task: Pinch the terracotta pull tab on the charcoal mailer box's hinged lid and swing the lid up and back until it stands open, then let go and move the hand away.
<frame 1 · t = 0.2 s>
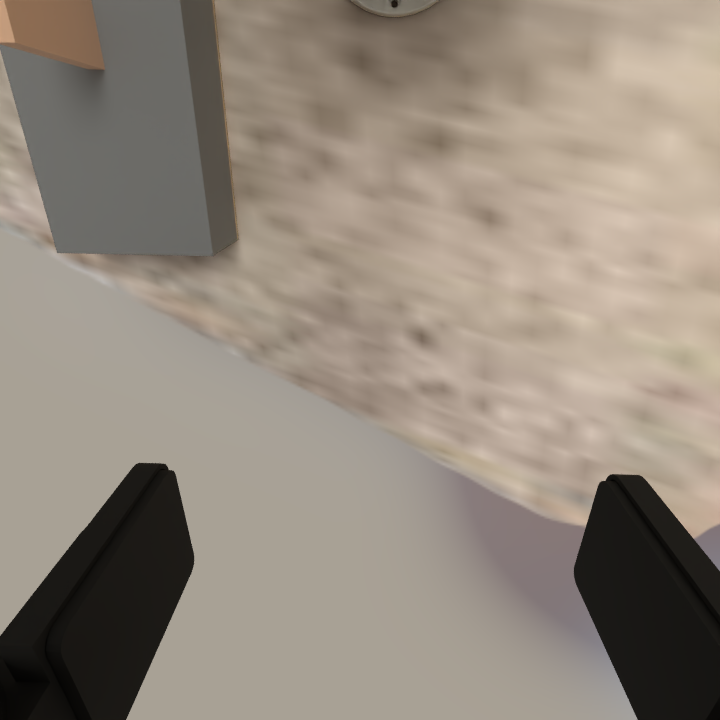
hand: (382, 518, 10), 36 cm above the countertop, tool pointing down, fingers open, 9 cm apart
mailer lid: (77, 107, 29), point 11 cm above the countertop, hinge at 0.0°
mailer box: (154, 123, 39), on the countertop
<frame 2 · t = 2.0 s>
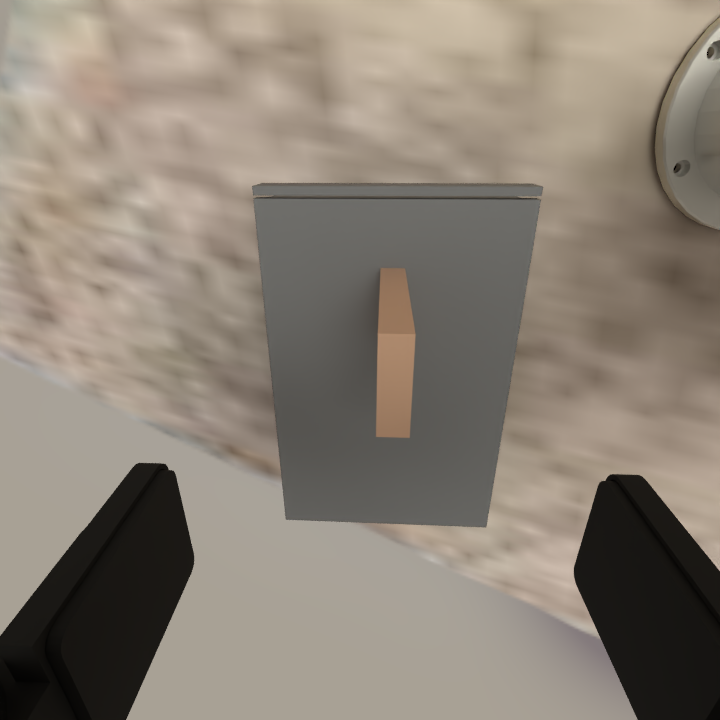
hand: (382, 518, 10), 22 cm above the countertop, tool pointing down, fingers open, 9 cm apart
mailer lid: (389, 418, 22), point 11 cm above the countertop, hinge at 0.0°
mailer box: (388, 338, 32), on the countertop
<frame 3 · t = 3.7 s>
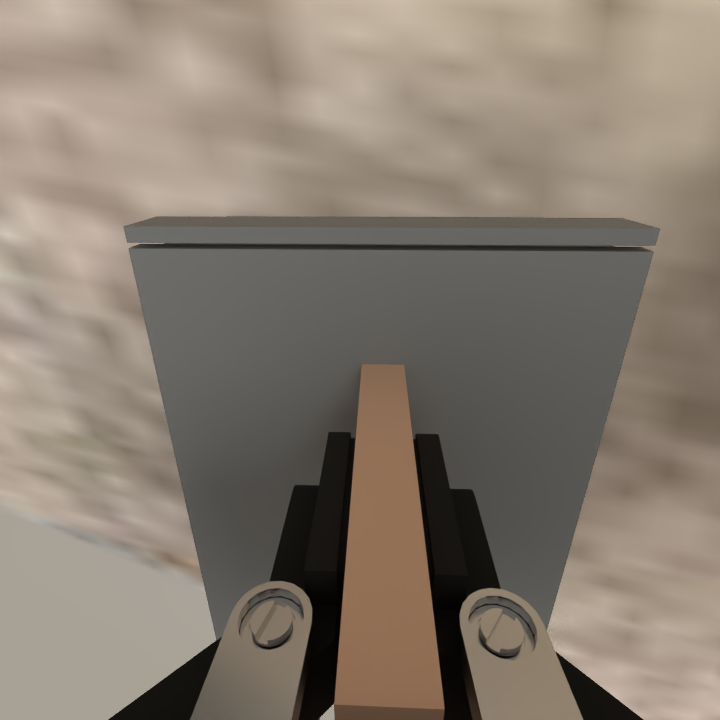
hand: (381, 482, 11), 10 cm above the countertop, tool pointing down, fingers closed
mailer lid: (378, 629, 12), point 11 cm above the countertop, hinge at 0.0°, touching gripper
mailer box: (378, 422, 22), on the countertop
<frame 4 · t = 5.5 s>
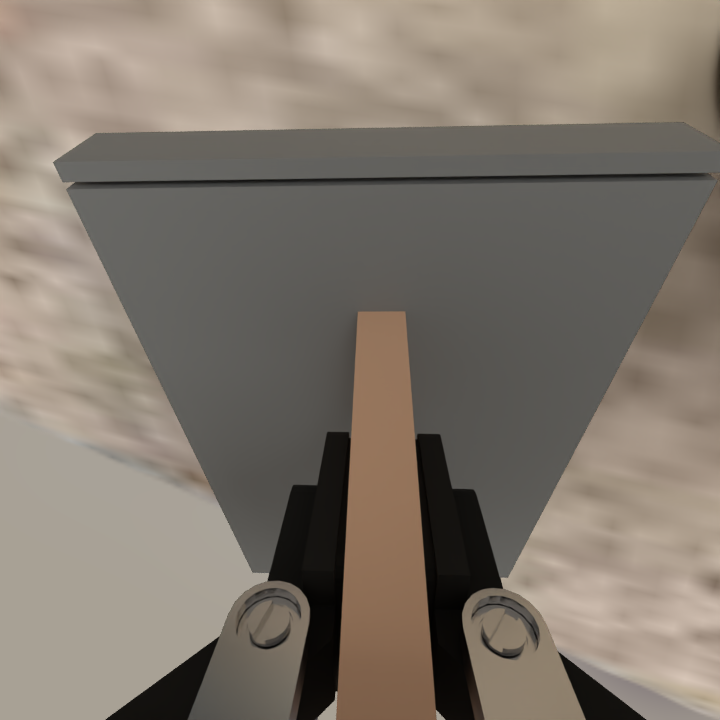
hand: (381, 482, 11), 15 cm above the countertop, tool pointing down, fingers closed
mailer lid: (380, 554, 13), point 14 cm above the countertop, hinge at 18.1°, touching gripper
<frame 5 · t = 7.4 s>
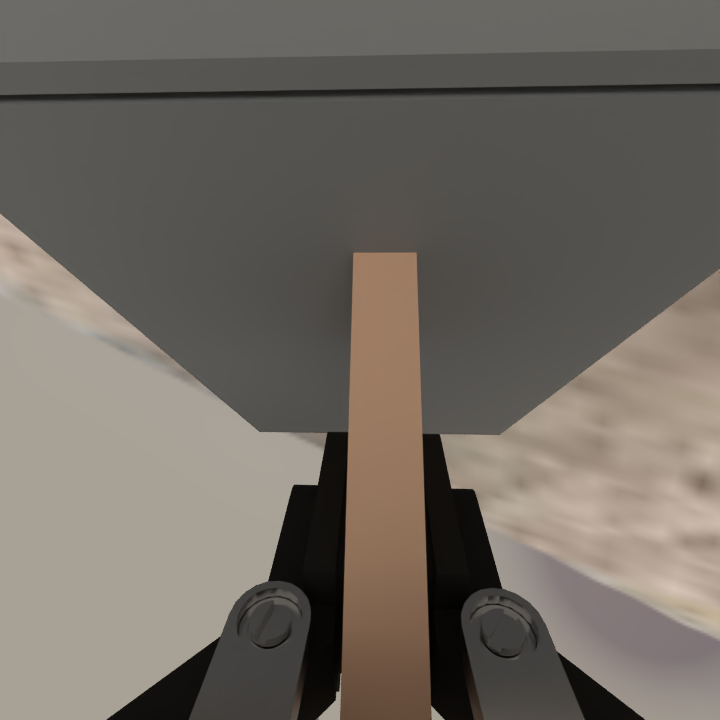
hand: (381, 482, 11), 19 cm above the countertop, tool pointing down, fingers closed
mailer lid: (380, 472, 13), point 17 cm above the countertop, hinge at 43.8°, touching gripper
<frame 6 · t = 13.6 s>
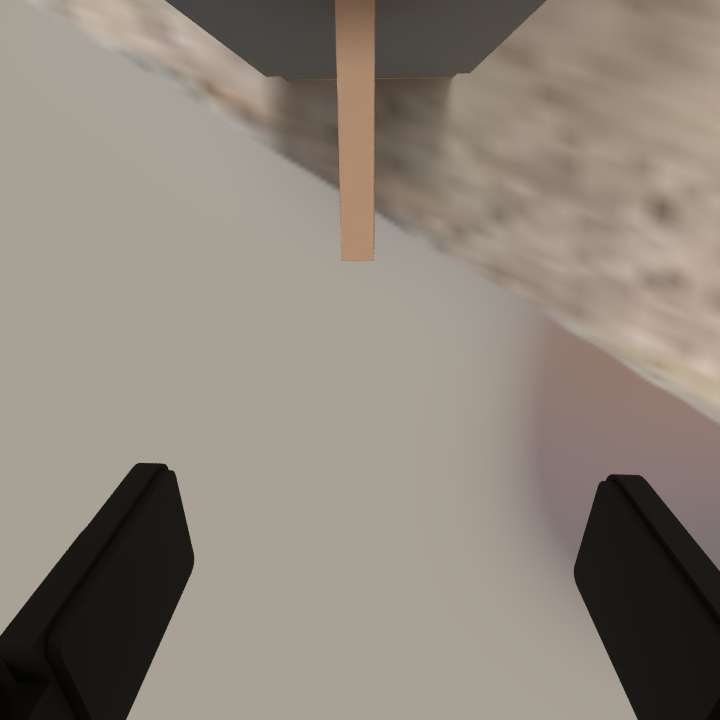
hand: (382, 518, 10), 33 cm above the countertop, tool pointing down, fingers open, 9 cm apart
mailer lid: (362, 119, 20), point 17 cm above the countertop, hinge at 89.2°
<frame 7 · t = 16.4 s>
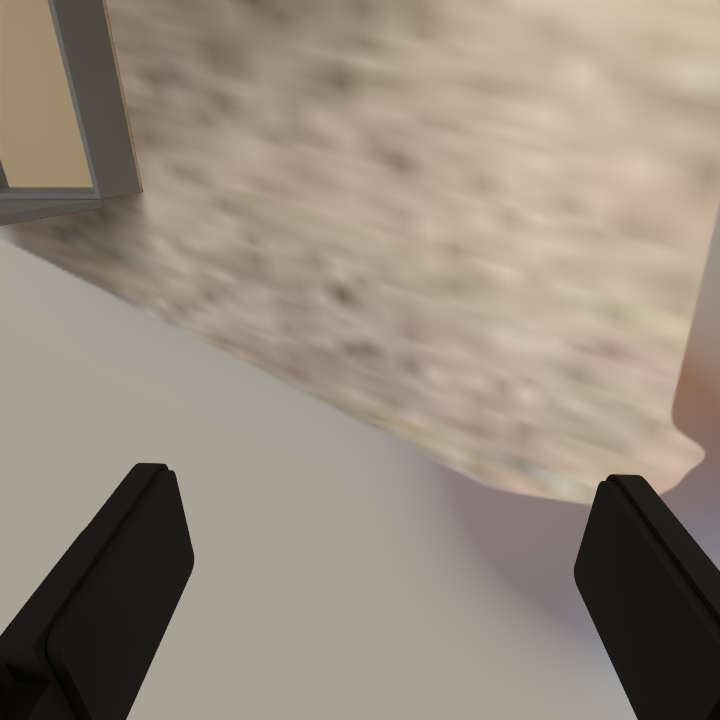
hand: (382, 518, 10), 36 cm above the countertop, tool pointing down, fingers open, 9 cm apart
mailer box: (43, 66, 38), on the countertop
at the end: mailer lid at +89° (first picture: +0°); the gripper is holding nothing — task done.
